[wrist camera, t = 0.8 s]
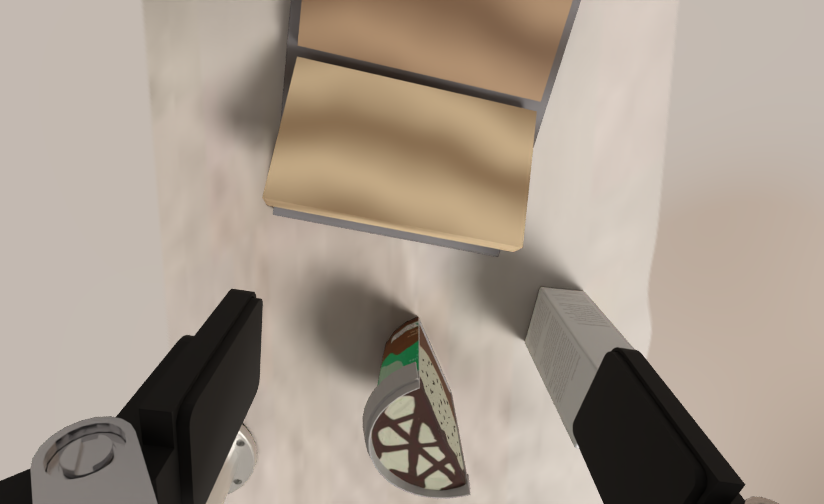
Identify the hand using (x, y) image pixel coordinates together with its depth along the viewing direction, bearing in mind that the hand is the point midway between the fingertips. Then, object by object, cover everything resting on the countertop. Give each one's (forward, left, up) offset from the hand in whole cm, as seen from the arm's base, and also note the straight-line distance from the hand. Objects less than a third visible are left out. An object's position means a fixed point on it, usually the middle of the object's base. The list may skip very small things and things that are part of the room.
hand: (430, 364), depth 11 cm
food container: (-18, -3, -23) cm, 29 cm away
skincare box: (-10, -15, -23) cm, 29 cm away
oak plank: (+2, +1, -19) cm, 19 cm away
